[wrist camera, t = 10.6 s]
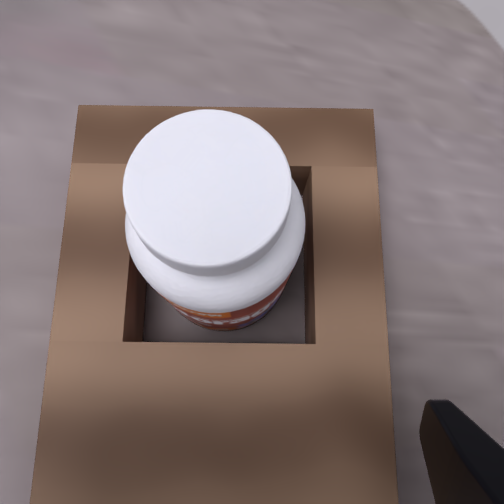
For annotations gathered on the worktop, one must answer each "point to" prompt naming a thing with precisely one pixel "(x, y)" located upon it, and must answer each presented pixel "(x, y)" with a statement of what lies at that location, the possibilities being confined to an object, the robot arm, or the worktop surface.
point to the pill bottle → (213, 217)
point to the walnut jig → (220, 344)
